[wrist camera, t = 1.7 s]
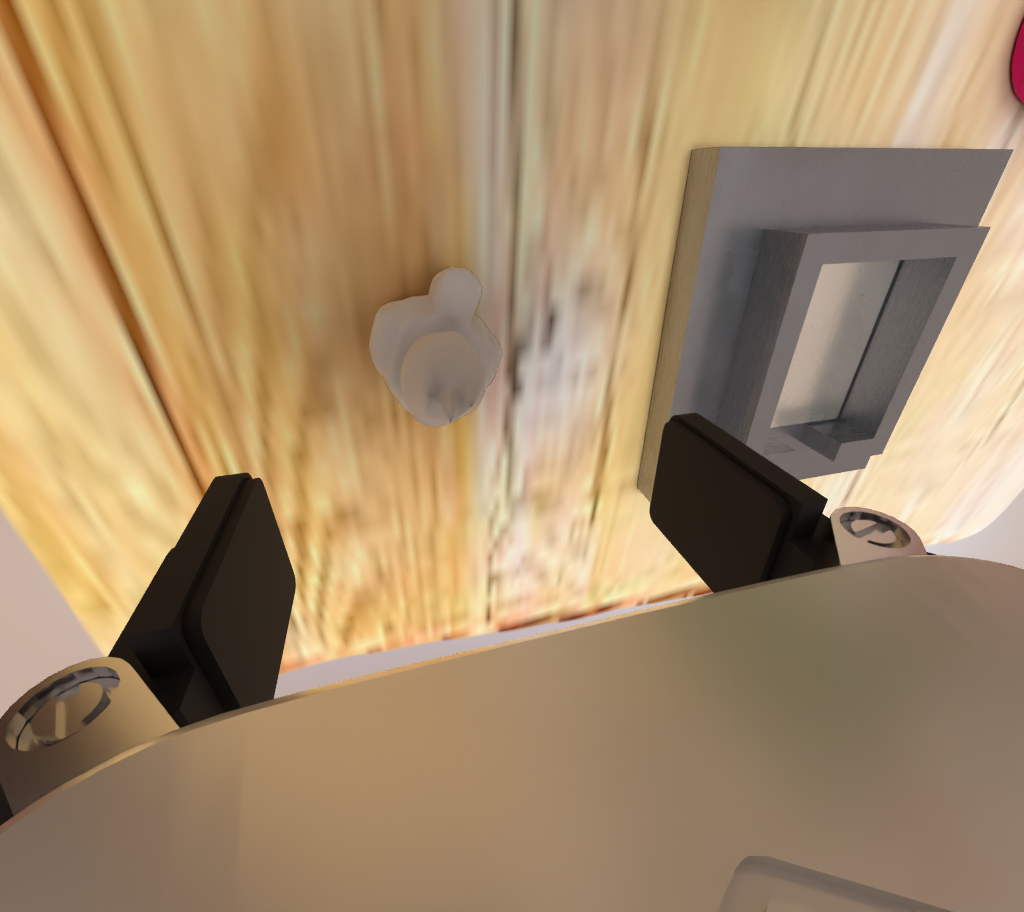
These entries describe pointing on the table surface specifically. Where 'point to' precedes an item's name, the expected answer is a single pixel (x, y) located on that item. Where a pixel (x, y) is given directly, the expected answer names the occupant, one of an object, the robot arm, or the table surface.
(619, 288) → the table surface
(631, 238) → the table surface
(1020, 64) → the pepper mill
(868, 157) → the plate
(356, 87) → the table surface
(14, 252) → the table surface
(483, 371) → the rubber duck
